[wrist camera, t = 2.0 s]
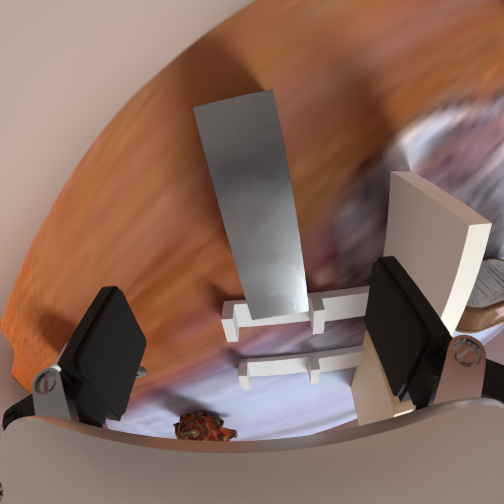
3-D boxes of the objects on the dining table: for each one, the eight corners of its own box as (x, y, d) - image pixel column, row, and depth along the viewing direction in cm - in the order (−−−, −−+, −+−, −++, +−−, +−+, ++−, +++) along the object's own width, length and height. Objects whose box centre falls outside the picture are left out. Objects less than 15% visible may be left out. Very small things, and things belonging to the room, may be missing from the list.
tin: (413, 289, 25) (448, 348, 17) (419, 264, 23) (461, 322, 16) (498, 270, 24) (534, 311, 16) (505, 249, 22) (544, 288, 15)
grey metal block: (267, 95, 17) (272, 89, 11) (298, 264, 23) (308, 311, 18) (211, 107, 17) (192, 107, 12) (253, 271, 24) (252, 320, 19)
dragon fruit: (185, 391, 37) (229, 412, 44) (153, 423, 35) (201, 439, 42) (210, 428, 30) (255, 441, 37) (172, 461, 28) (223, 470, 35)
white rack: (415, 171, 19) (507, 231, 9) (369, 383, 33) (386, 448, 24) (198, 187, 20) (147, 269, 10) (250, 398, 35) (248, 467, 25)
